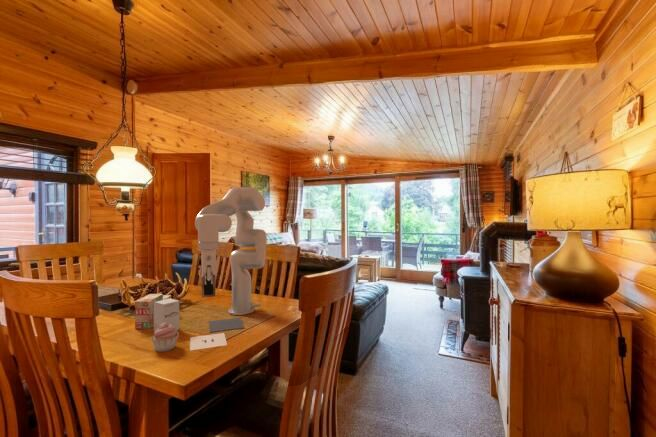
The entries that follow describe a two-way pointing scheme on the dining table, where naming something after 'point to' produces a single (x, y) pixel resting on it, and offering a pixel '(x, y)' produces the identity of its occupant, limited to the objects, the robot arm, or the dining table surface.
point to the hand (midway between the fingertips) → (208, 292)
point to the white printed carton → (147, 310)
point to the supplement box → (166, 313)
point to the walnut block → (203, 286)
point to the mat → (225, 325)
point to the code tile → (207, 341)
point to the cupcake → (165, 337)
